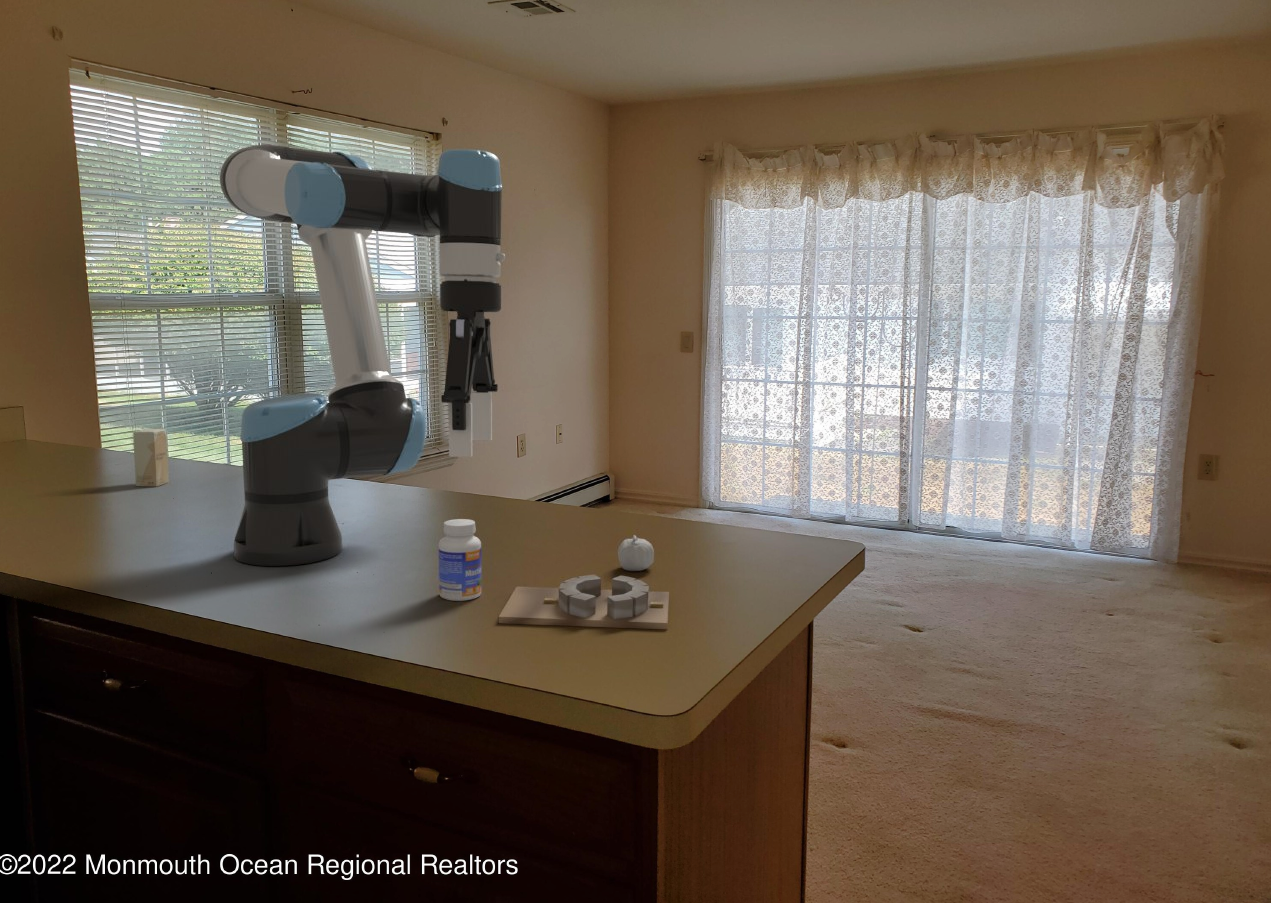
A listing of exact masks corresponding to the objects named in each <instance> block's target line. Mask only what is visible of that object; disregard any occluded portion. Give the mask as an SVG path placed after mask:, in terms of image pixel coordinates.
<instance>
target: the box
mask: <svg viewBox="0 0 1271 903" xmlns="http://www.w3.org/2000/svg"><path fill="white" fill-rule="evenodd" d="M132 437H133V438H132V439H133V455H134V474H135V486H136V487H160V486H162V485H166V484H168V483H169V481H170V480H169V478H170V477H169V460H168V458H169V457H168V443H167V442H168V440H167V438H168V437H167V429H164V428H163V429H161V428H145V429H140V430H136V431H133V432H132Z"/></svg>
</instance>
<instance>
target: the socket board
mask: <svg viewBox="0 0 1271 903" xmlns="http://www.w3.org/2000/svg"><path fill="white" fill-rule="evenodd" d="M669 600H670V591H650V586H649V584H648V583H646V582H644V581H643V580H641V579H637V578H635V577H630V576H625V575H619V576H616V577H614V578H612V579H611V589H602V578H601V577H599V576H597V575H596V574H587V575H579V576H577V577H572V578H569V579H566V580H564V581H562V582H561V583H560V585H559V587H545V586H544V587H539V586H534V587H533V586H516V587H515V589H514V590H513V592H512V594H511V595H510V597H509V599H508V600H507V602H506V603H505V606H504V607H503V609H502V610H501V612H500V614H499V616H498V624H507V625H508V624H509V625H510V624H511V625H516V624H518V625H540V626H565V627H567V626H568V627H592V628H594V627H595V628H616V629H618V628H619V629H621V628H622V629H642V630H645V629H646V630H647V629H648V630H649V629H651V630H668V623H669V622H668V621H669V603H670V601H669Z"/></svg>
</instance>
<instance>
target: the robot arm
mask: <svg viewBox="0 0 1271 903" xmlns="http://www.w3.org/2000/svg"><path fill="white" fill-rule="evenodd" d="M438 159H439V160H438V168H437V170H436V171H437V174H433V175H432V174H431V175H429V174H427V175H425V174H419V173H418V174H416V173H415V174H414V173H410V172H409V173H408V172H407V173H406V172H398V171H390V170H381V169H379V170H378V169H373V168H372V167H371V165H370V164H369V163H368V162H367V161H366V160H364V158H361V157H359V156H357V155H352V154H351V155H350V154H346V153H343V152H341V151H332V152H328V151H321V150H313V149H306V148H297V147H290V146H282V145H277V144H276V145H274V144H257V145H256V144H255V145H251V146H246V147H243V148H240V149H238V150H236V151H234V152H232V153H231V154H230V155H229V156H228V157H227V158H226V159H225V161H224V162H223V163H222V166H221V169H220V171H219V172H220V173H219V184H220V189H221V192H222V193H223V195H224V198H225V199H226V201H227V202H228V203H229V204H230V205H231V206H232V207H233V208H235V209H236V210H237V211H239V212H241V213H243V214H246V215H247V216H250V217H254V218H257V219H261V220H265V221H271V222H279V223H290V224H296V227H297V234H298V237H299V239H300V240H301V242H302V243H305V244H306V245H308V246H309V247H310V249H311V255H312V261H313V266H314V272H315V277H316V278H315V279H316V282H317V283H316V284H317V289H318V293H319V299H320V305H321V309H322V314H323V315H322V317H323V320H324V326H325V332H326V337H327V343H328V348H329V354H330V358H331V359H330V360H331V365H332V369H333V370H332V371H333V375H334V381H335V385H334V387H333V388H332V390H330V392H329V393H328V395H327V399H328V401H327V399H326V397H325V396H324V395H323V394H319V393H303V394H302V393H301V394H288V395H282V396H281V395H280V396H276V397H270V398H269V397H268V398H265V399H261V400H257V401H255V402H253V403H250V404H249V405H247V406H246V407H245V408H244V409H243V412H242V413H241V426H240V428H241V429H240V437H239V438H240V441H241V451H242V452H241V453H242V454H241V455H242V469H243V470H242V472H243V475H242V476H243V490H244V493H243V494H244V506H243V510H242V513H241V517H240V520H239V523H238V527H237V530H236V534H235V536H234V540H233V555H234V556H233V557H234V559H235V560H236V561H237V562H241V563H244V564H247V565H254V566H266V567H267V566H268V567H279V566H283V567H284V566H295V565H296V566H297V565H302V564H303V565H305V564H310V563H315V562H320V561H324V560H327V559H331V558H333V557H335V556H337V555H339V554H340V553H341V552H342V551H343V538H342V537H343V536H342V533H341V530H340V528H339V524H338V522H337V519H336V517H335V514H334V511H333V509H332V506H331V503H330V499H329V481H331V480H341V479H349V478H352V479H353V478H361V477H372V476H381V475H382V476H385V477H386V476H389V475H391V474H397V473H402V472H406V471H407V472H408V471H410V470H411V469H413V468H414V467H415V465H417V464H418V462H419V460H420V458H421V456H422V453H423V450H424V447H425V442H426V435H427V425H426V416H425V412H424V409H423V406H422V405H421V403H420V402H419V400H417V399H415V398H412V397H406V392H405V387H404V384H403V382H402V381H400V380H398V379H397V378H395V377H393V376H392V371H391V365H390V360H389V356H388V355H389V354H388V350H387V345H386V344H387V343H386V339H385V335H384V331H383V325H382V319H381V316H380V309H379V304H378V300H377V294H376V289H375V283H374V278H373V274H372V269H371V263H370V257H369V252H368V247H367V241H366V240H367V239H368V238H369V236H370V235H371V234H372V233H373V231H374V232H383V233H384V232H386V233H396V234H397V233H399V234H400V233H401V234H409V235H411V236H413V237H414V236H415V237H426V238H433V237H436V236H439V276H441V277H444V280H443V281H441V283H440V284H439V286H440V287H439V295H440V296H439V297H440V299H439V300H440V306H439V307H440V309H441V310H442V311H444V312H456V314H457V315H456V319H454V318H453V319H452V318H451V319H450V320H449V323H448V324H449V325H448V326H449V340H448V342H449V343H448V350H447V360H446V370H445V371H446V372H445V381H444V382H445V384H444V391H443V394H441V395H440V396H441V397H440V398H441V400H440V401H441V403H443V404H448V457H451V458H452V457H453V458H454V457H455V458H459V457H460V458H472V457H473V454H474V453H473V452H474V451H473V441H476V442H478V441H479V442H480V441H481V442H491V441H493V393H495V392H496V393H497V392H498V387H499V385H498V383H496V379H495V374H494V364H493V363H494V362H493V352H492V340H491V325H492V324H491V323H492V322H491V320H490V318H485V313H499V312H500V311H501V310H502V285H500V282H497V281H496V279H499V278H500V277H501V276H502V274H501V272H502V271H501V270H502V268H501V266H502V265H501V262H504V261H505V260H506V255H505V253H503V252H501V242H502V241H501V239H502V190H503V184H502V179H501V177H502V176H501V162H500V159H499V158H498V156H497V155H495V154H494V153H492V152H490V151H486V150H480V149H470V148H469V149H467V148H466V149H465V148H462V149H461V148H453V149H447V150H445V151H443V152H441V153H440V156H439V158H438ZM472 390H473V391H472Z"/></svg>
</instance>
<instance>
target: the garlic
mask: <svg viewBox="0 0 1271 903" xmlns="http://www.w3.org/2000/svg"><path fill="white" fill-rule="evenodd" d="M617 557H618V560H619V564H620V566H621V567H622V569H623V570H625V571H629V572H640V571H643V570H646V569H648V568H649V567H650V566H651V565H652V564H653V563H654V562H655V561H654V560H655V549H654V547H653V544H652V543H650V542H649V540H647V539H645V538H639V537H637V536H636V534H634V535H632V538H625V539H624V540H623V541H622V542H621V544H620V545H619V546H618V550H617Z"/></svg>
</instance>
